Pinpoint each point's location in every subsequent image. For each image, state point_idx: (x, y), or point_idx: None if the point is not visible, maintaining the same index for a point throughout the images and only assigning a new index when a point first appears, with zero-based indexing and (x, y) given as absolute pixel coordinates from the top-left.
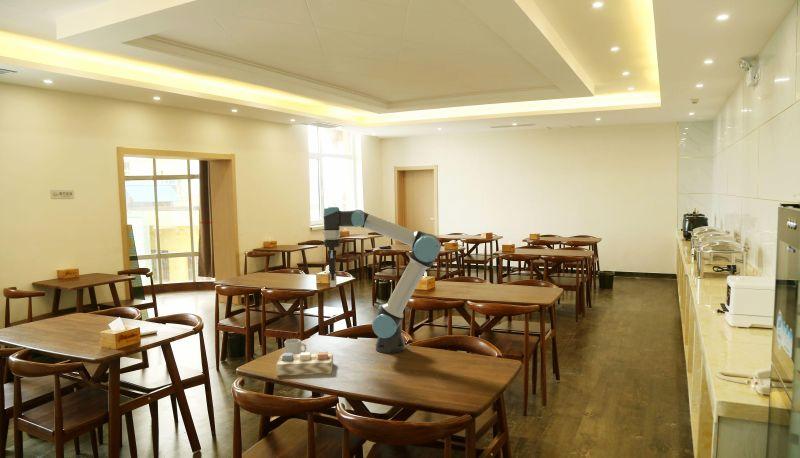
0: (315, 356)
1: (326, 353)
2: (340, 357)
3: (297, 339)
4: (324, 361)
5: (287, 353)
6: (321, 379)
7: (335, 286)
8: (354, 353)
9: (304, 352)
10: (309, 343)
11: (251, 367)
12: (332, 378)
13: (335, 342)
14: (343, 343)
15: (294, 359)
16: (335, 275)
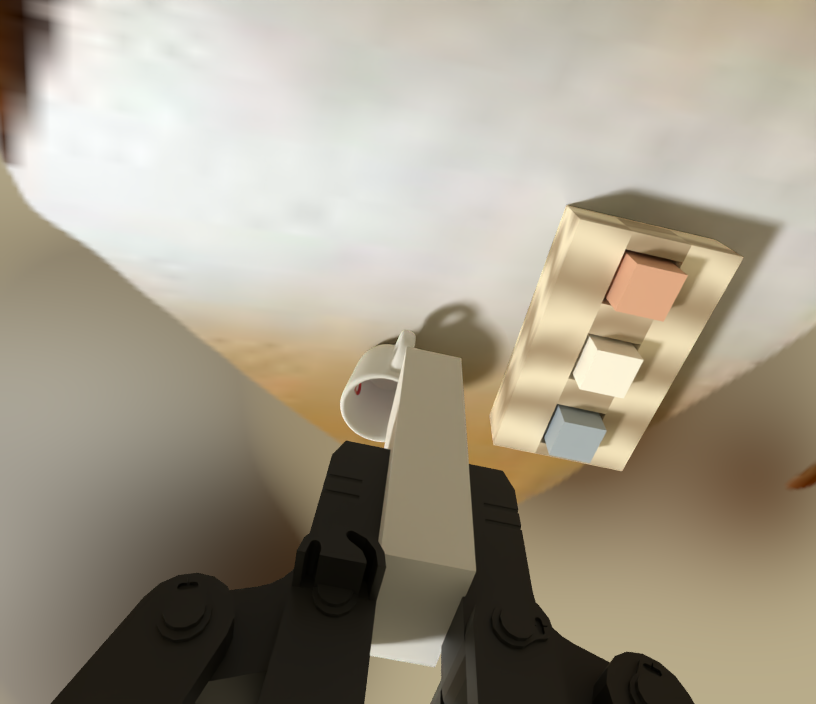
0: (595, 315)
1: (668, 277)
2: (479, 146)
3: (355, 385)
4: (705, 285)
5: (565, 442)
6: (764, 292)
7: (461, 367)
8: (432, 40)
9: (588, 376)
10: (178, 273)
11: None
12: (785, 244)
13: (171, 124)
14: (198, 74)
15: (592, 405)
16: (472, 526)
